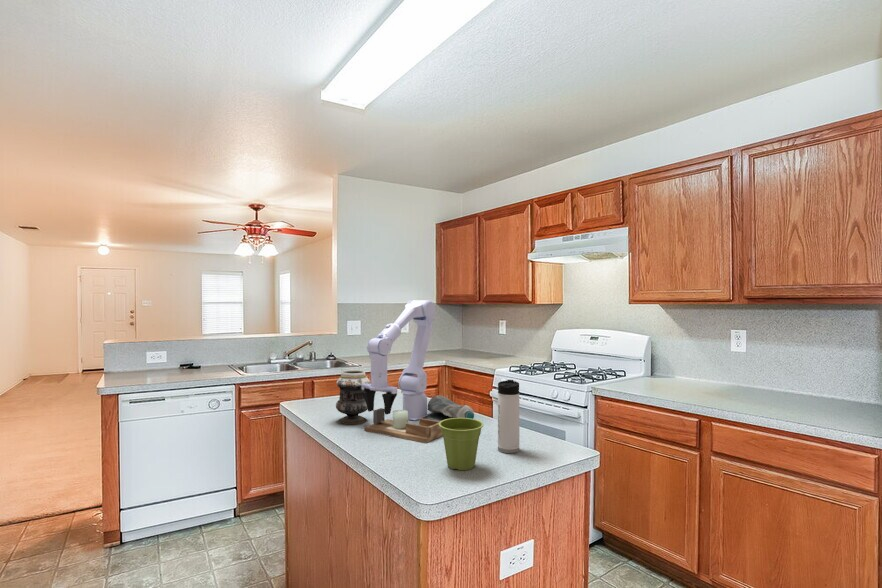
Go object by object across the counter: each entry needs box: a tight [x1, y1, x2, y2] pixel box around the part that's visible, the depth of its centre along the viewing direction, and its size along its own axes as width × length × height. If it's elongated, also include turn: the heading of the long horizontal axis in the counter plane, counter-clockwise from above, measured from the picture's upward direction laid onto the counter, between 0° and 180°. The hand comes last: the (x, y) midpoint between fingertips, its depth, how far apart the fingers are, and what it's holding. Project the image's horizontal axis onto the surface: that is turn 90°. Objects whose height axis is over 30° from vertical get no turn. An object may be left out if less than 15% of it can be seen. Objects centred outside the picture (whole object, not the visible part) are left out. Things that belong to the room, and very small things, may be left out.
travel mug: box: [497, 379, 520, 454], centre depth 136 cm, size 6×7×20 cm
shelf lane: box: [364, 417, 443, 444], centre depth 154 cm, size 12×25×4 cm, turn 57°
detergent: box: [427, 395, 475, 419], centre depth 172 cm, size 13×7×25 cm
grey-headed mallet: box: [372, 407, 409, 429], centre depth 157 cm, size 5×13×5 cm, turn 57°
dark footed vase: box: [335, 369, 371, 425], centre depth 168 cm, size 12×12×18 cm
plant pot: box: [439, 417, 484, 471], centre depth 123 cm, size 12×12×11 cm
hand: (379, 412), depth 160 cm, fingers open, 7 cm apart
